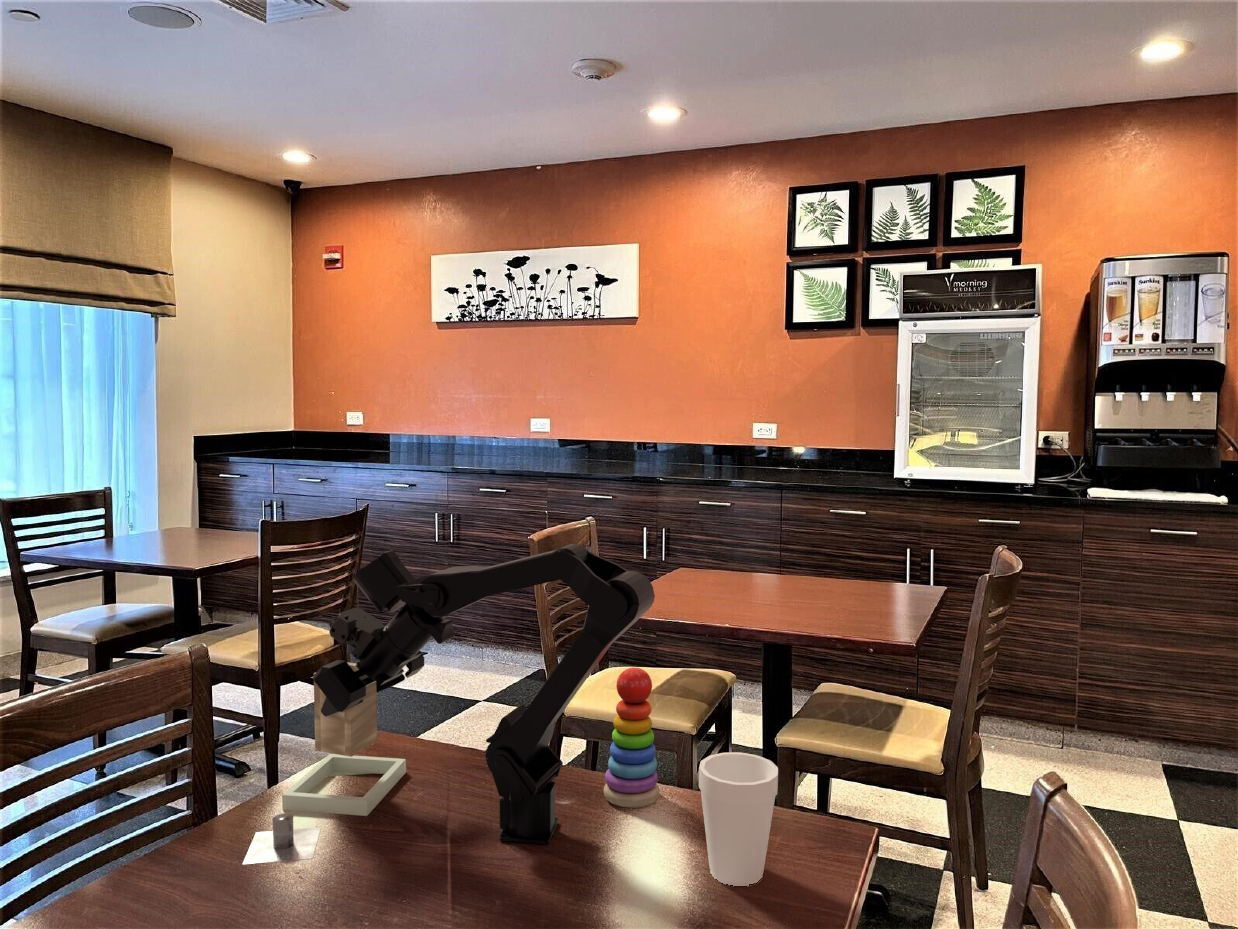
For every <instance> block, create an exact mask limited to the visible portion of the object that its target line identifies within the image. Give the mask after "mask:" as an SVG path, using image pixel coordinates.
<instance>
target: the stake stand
mask: <svg viewBox="0 0 1238 929" xmlns="http://www.w3.org/2000/svg"><path fill="white" fill-rule="evenodd" d="M321 829H322V826H318V827H317V826H315V827H307V828H306V827H305V828H294V815H293V814H292V813H287V812H284V813H279V814H277V815H274V816H273V817H272V830H266V831H255V834H254V837H253V839H252V840H251V843H250V845H249V847H248V850H247V852H246V855H245V856H244V860H243V862H242V864H241V865H243V866H245V865H255V864H265V863H266V864H268V863H280V862H290V861H299V860H300V861H302V860H313V858H314V854H315V850H316V847H317V844H318V840H319V837H320V833H321V831H322V830H321Z"/></svg>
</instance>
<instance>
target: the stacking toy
mask: <svg viewBox="0 0 1238 929" xmlns="http://www.w3.org/2000/svg"><path fill="white" fill-rule="evenodd" d="M615 688H616V691H617V694H618V696H619V698H621V700H619V701H618V702H617V704H616V706H615V712H616V714H617V715H616V716H615V717H614V718H613V721H612V722H613V727H614V729H613V731H612V733H611V734H612V735H611V738H612V741H613V742H612V743H611V745H610V747H609V753H610V756H609V759H608V762H607V768H608V769H607V770H606V771H605V775H604V782H605V784H604V785H603V795H604V798H605V799H606V800H607V801H608V802H609V803H611V804H613V805H615V806H617V807H622V808H630V809H631V808H643V807H646V806H647V807H648V806H649V805H650V806H651V805H652V804H653V803H655V802H656V801H657V800H658V798H659V796H660V791H661V790H660V788H659V785H658V784H657V783H658V774H657V772H656V770H657V767H658V761H657V758H656V757H655V756H656V750H657V749H656V746H655V744H654V740H655V734H654V731H653V730H652V726H653V721H652V718H651V717H650V715H651V713H652V705H651V703H650V702H649V701H648V700H647V699H648V698H649V697H650V695H651V693H652V690H653V681H652V679H651V676H650V674H649V673H648V672H647V671H646V670H644V669H642V668H640V667H628V668H626V669H625V670H623V671H621V673H620V674H619V675H618V678H617V680H616V687H615Z"/></svg>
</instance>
